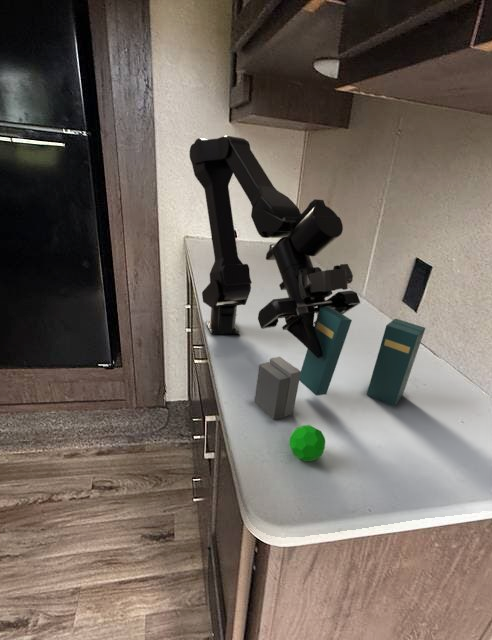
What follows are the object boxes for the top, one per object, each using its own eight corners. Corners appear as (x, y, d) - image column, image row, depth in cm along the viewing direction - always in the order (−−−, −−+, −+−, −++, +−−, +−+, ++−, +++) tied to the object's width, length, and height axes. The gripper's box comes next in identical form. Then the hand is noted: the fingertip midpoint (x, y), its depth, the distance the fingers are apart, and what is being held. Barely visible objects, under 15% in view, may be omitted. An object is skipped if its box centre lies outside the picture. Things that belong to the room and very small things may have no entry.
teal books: (366, 394, 74) (386, 325, 67) (375, 384, 78) (395, 318, 71) (394, 406, 72) (418, 335, 65) (402, 395, 76) (425, 327, 69)
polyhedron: (301, 472, 53) (308, 444, 51) (280, 451, 57) (285, 424, 54) (328, 461, 56) (335, 434, 54) (306, 441, 59) (312, 415, 57)
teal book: (297, 379, 72) (319, 306, 65) (308, 378, 73) (331, 307, 67) (315, 395, 68) (341, 319, 62) (326, 394, 69) (352, 320, 63)
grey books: (254, 402, 67) (259, 360, 63) (273, 397, 69) (279, 356, 65) (273, 420, 63) (280, 376, 59) (293, 413, 65) (301, 371, 62)
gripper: (278, 245, 56) (316, 348, 54) (365, 244, 67) (399, 329, 65) (243, 282, 65) (274, 371, 63) (324, 276, 76) (353, 352, 74)
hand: (328, 355), depth 66 cm, fingers closed on teal book, 3 cm apart
